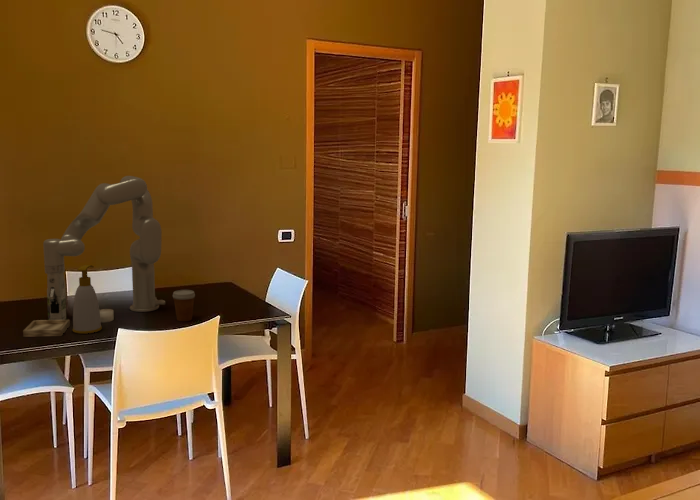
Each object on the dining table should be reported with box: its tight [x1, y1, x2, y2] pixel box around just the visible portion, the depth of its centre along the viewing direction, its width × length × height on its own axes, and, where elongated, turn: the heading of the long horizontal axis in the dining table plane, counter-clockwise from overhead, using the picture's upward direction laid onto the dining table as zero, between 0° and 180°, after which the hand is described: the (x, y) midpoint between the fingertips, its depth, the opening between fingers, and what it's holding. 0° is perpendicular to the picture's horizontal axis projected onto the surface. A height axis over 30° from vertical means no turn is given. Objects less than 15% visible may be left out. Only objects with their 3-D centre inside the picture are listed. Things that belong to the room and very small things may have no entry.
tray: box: [22, 319, 71, 338], centre depth 271 cm, size 14×14×2 cm
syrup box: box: [46, 286, 67, 320], centre depth 284 cm, size 6×6×14 cm
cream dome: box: [99, 308, 115, 323], centre depth 288 cm, size 7×7×4 cm
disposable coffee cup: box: [172, 289, 196, 322], centre depth 291 cm, size 10×10×12 cm
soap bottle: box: [72, 264, 103, 335], centre depth 271 cm, size 11×12×26 cm
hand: (57, 310), depth 284 cm, fingers closed on syrup box, 5 cm apart
